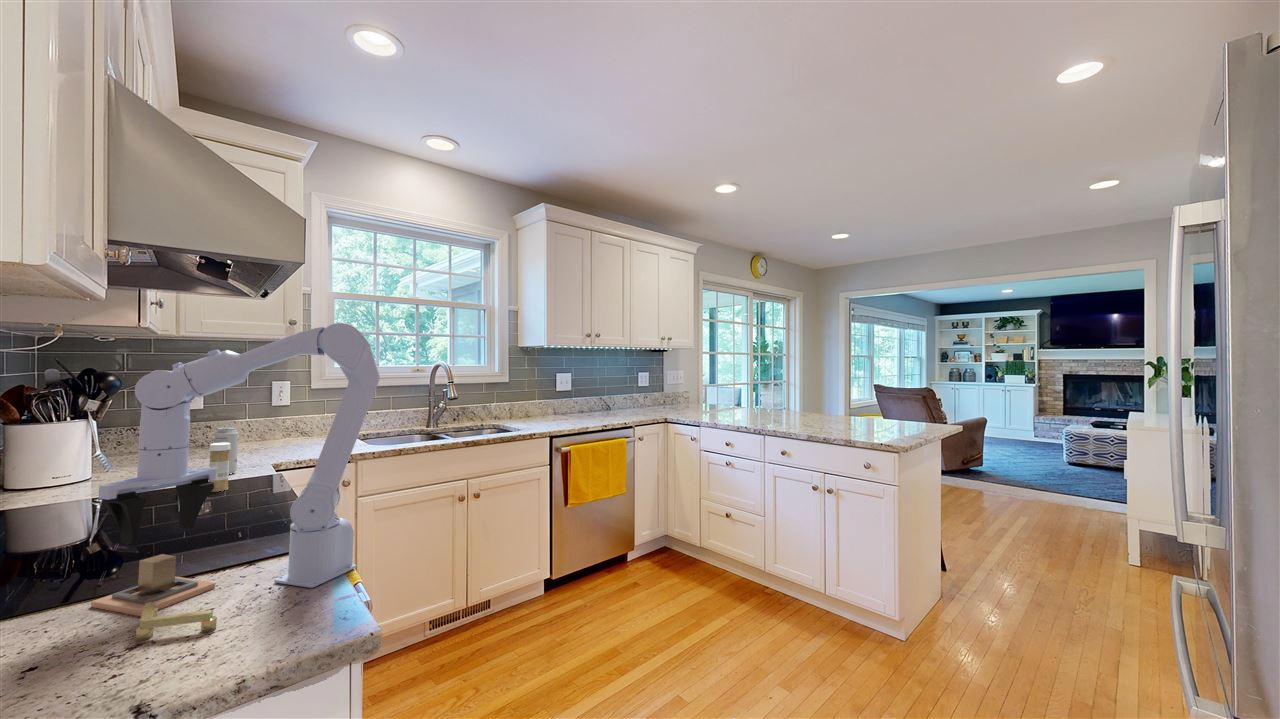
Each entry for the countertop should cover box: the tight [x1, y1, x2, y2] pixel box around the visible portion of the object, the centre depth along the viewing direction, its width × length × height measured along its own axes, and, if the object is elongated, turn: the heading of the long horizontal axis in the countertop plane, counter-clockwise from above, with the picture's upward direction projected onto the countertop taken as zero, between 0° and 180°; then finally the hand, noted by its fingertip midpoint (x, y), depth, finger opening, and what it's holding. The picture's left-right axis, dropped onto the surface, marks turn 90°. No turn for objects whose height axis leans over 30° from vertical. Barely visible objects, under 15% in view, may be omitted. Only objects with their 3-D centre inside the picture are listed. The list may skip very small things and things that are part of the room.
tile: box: [90, 575, 216, 617], centre depth 78 cm, size 10×10×1 cm
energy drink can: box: [213, 426, 239, 474], centre depth 164 cm, size 6×6×15 cm
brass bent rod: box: [135, 601, 218, 642], centre depth 68 cm, size 6×12×2 cm, turn 77°
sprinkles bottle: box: [208, 442, 231, 493], centre depth 143 cm, size 5×5×14 cm
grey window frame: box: [111, 553, 198, 605], centre depth 78 cm, size 7×7×5 cm
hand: (159, 535), depth 78 cm, fingers open, 7 cm apart
